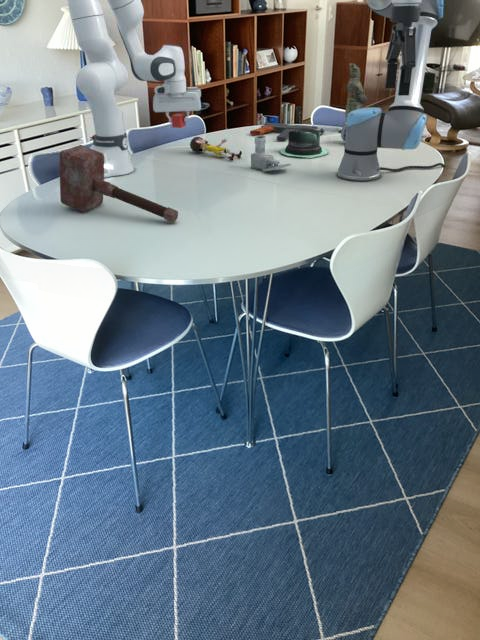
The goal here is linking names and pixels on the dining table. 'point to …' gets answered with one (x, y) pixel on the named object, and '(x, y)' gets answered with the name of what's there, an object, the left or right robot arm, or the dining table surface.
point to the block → (178, 120)
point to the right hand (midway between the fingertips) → (396, 91)
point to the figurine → (212, 148)
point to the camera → (264, 157)
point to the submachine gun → (280, 129)
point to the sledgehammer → (96, 184)
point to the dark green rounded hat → (304, 143)
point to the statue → (354, 91)
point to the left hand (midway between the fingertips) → (178, 122)
